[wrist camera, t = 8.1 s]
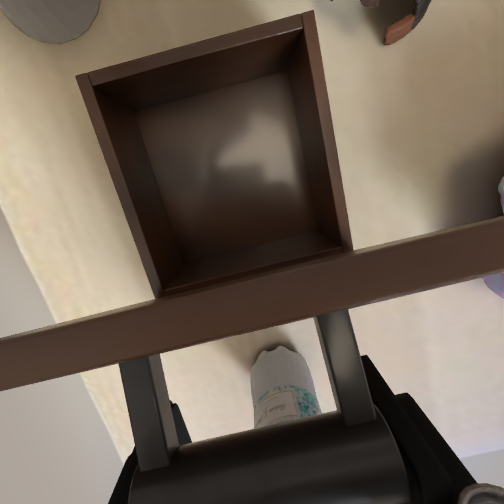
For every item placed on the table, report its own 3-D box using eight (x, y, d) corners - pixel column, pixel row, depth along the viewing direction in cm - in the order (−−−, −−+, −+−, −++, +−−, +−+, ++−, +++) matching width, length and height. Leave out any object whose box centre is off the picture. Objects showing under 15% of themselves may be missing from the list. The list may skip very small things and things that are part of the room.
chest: (125, 106, 25) (74, 75, 18) (292, 61, 25) (314, 9, 17) (179, 270, 29) (156, 302, 22) (325, 234, 29) (354, 254, 21)
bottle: (282, 326, 31) (344, 575, 12) (320, 367, 32) (433, 650, 13) (235, 363, 32) (221, 649, 12) (274, 401, 33) (316, 711, 14)
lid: (-240, 398, 5) (-203, 742, 4) (696, 170, 4) (834, 542, 4) (153, 299, 21) (168, 370, 21) (355, 250, 21) (374, 321, 20)
